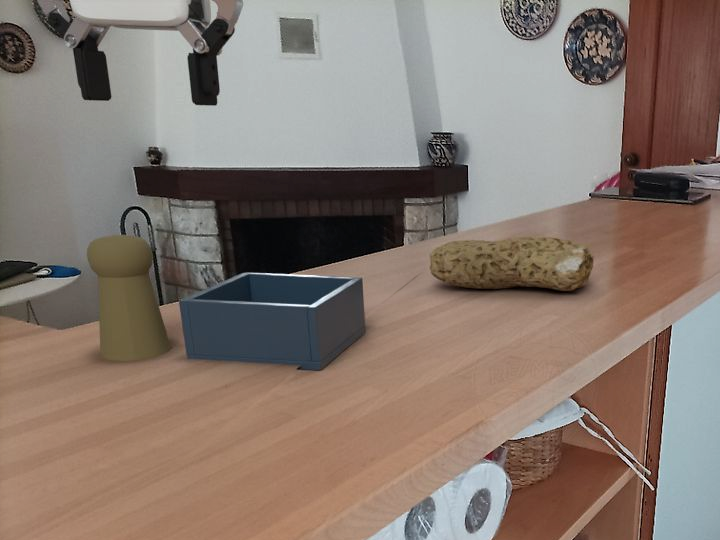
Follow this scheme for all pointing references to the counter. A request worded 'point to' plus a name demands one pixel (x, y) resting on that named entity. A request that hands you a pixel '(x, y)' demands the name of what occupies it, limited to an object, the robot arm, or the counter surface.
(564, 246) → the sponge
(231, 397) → the counter surface
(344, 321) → the bin
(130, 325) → the cork
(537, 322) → the counter surface
